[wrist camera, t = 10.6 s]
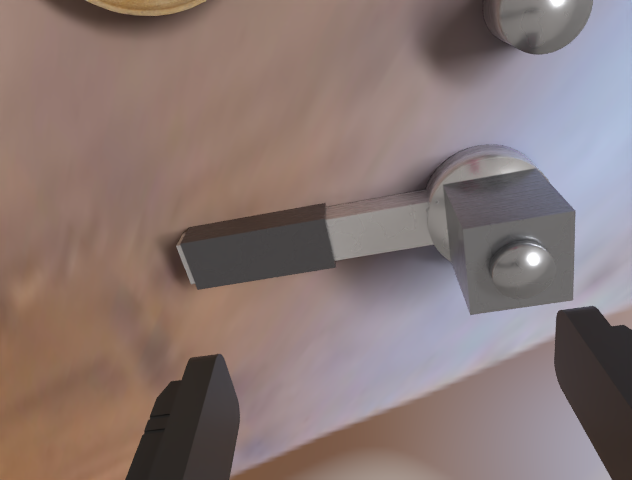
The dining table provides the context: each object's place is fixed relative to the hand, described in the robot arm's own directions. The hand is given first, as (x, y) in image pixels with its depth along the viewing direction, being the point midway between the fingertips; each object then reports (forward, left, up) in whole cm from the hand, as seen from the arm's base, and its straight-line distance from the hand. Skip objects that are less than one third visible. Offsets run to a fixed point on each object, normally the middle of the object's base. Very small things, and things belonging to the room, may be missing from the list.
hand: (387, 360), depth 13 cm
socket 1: (+10, +4, -23) cm, 26 cm away
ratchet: (-1, -8, -23) cm, 24 cm away
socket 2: (+7, -8, -21) cm, 23 cm away
